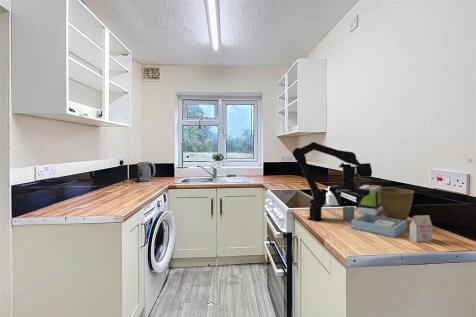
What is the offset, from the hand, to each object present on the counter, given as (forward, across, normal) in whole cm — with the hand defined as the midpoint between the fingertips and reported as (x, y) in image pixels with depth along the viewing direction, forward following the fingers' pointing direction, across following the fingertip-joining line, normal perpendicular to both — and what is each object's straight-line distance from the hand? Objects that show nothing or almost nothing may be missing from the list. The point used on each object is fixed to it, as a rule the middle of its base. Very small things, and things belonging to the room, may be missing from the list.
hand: (348, 206), depth 136 cm
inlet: (+7, -19, +4) cm, 20 cm away
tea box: (+7, 0, -26) cm, 27 cm away
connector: (+7, 0, 0) cm, 7 cm away
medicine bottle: (+7, +25, -30) cm, 40 cm away
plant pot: (+7, -18, -13) cm, 23 cm away
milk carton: (+7, -33, +7) cm, 35 cm away
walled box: (+7, -16, +4) cm, 18 cm away
